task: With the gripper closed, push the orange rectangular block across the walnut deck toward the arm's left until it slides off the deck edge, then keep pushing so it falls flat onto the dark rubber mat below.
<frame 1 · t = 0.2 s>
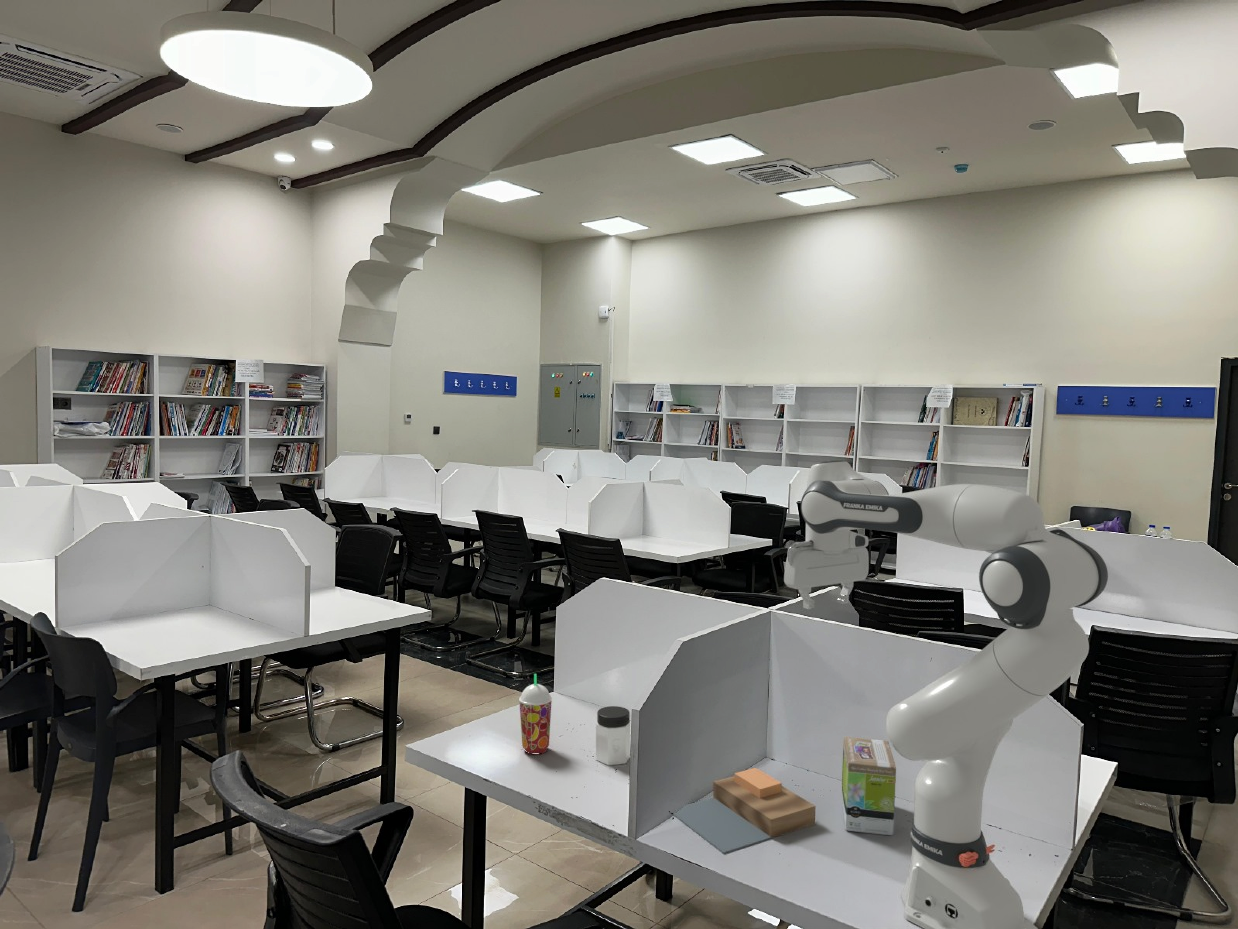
hand: (826, 605, 173), 47 cm above the table, fingers open, 8 cm apart
deck: (762, 811, 183), on the table
orange rectangular block: (757, 787, 186), point 4 cm above the table, touching deck
tea box: (866, 818, 181), on the table
jar: (613, 759, 211), on the table
mat: (718, 824, 177), on the table
smoothie: (535, 751, 215), on the table
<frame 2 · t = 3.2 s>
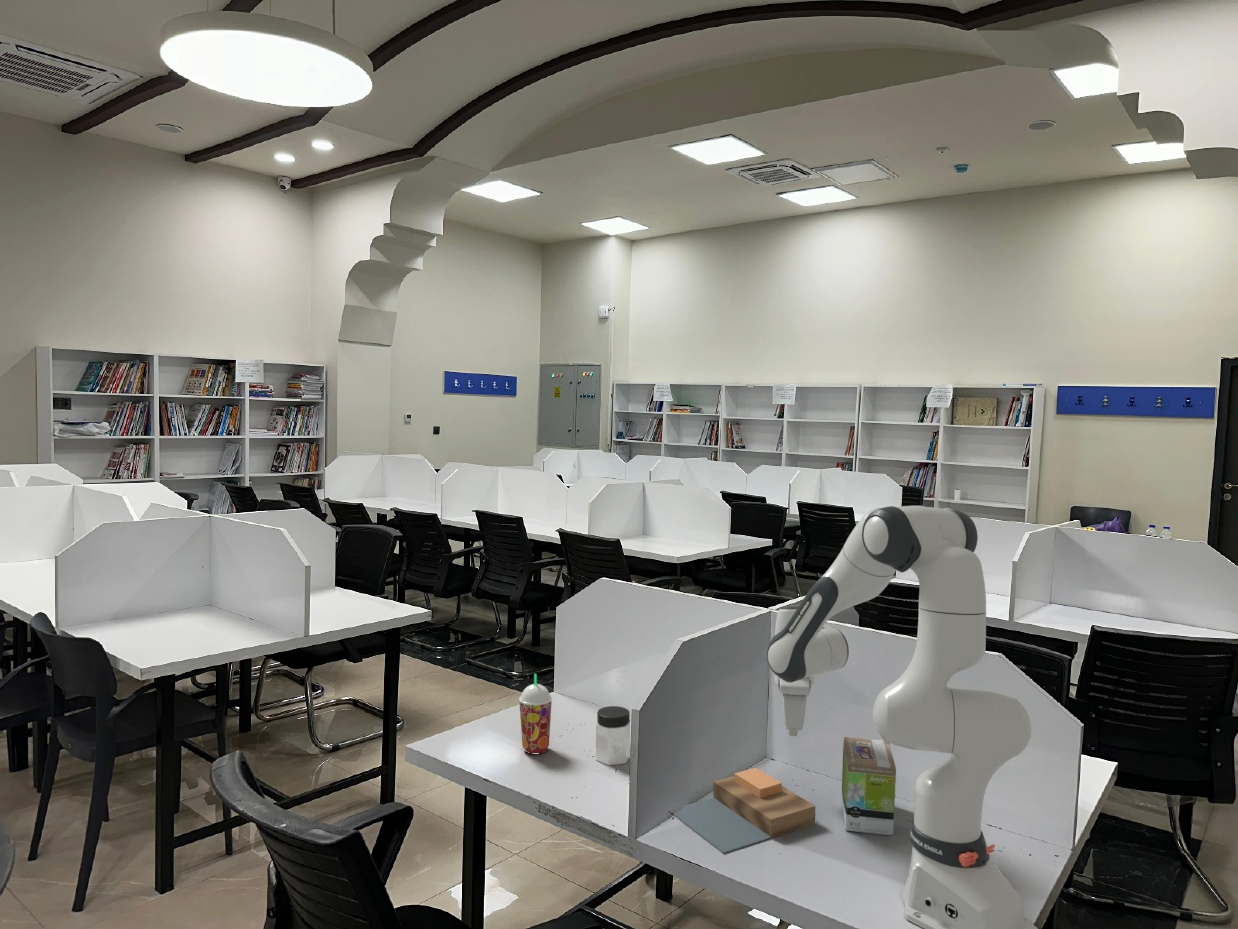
hand: (793, 733, 191), 14 cm above the table, fingers closed
nothing on the table moved.
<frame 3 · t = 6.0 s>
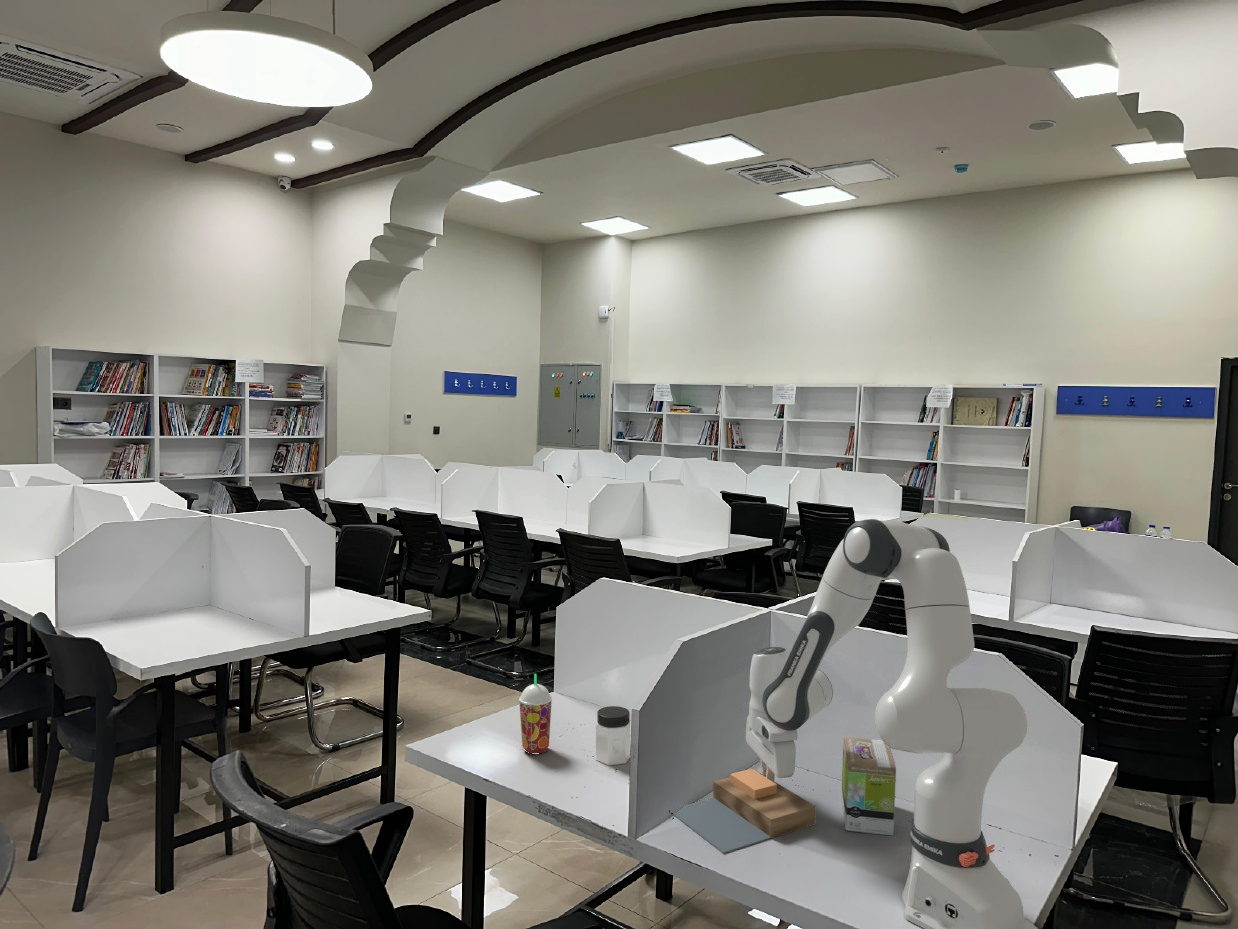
hand: (768, 779, 188), 5 cm above the table, fingers closed
orange rectangular block: (753, 788, 186), point 4 cm above the table, touching gripper
everything else where it was.
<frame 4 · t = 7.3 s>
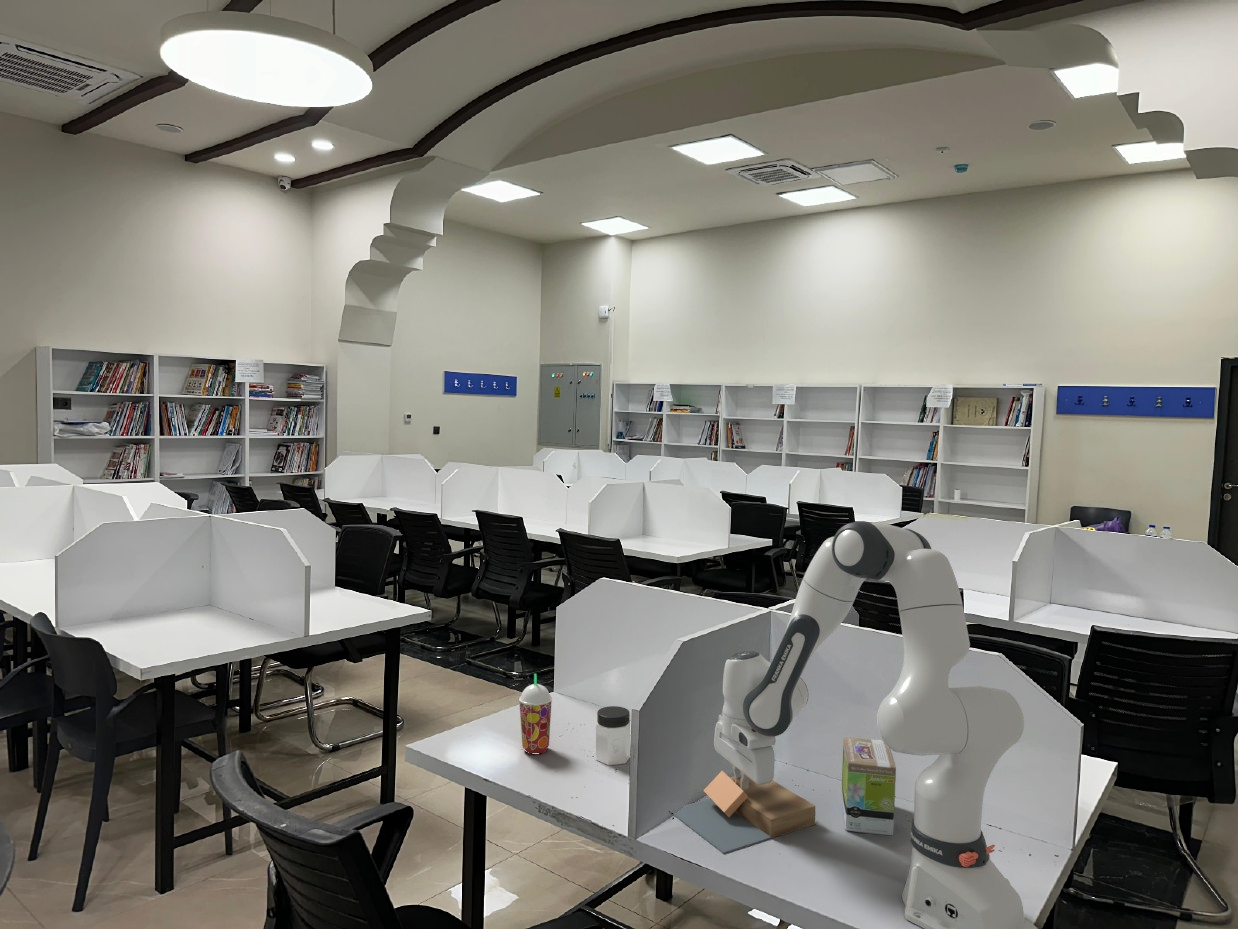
hand: (741, 787, 184), 5 cm above the table, fingers closed
orange rectangular block: (727, 796, 183), point 3 cm above the table, tilted 42°
everything else where it was.
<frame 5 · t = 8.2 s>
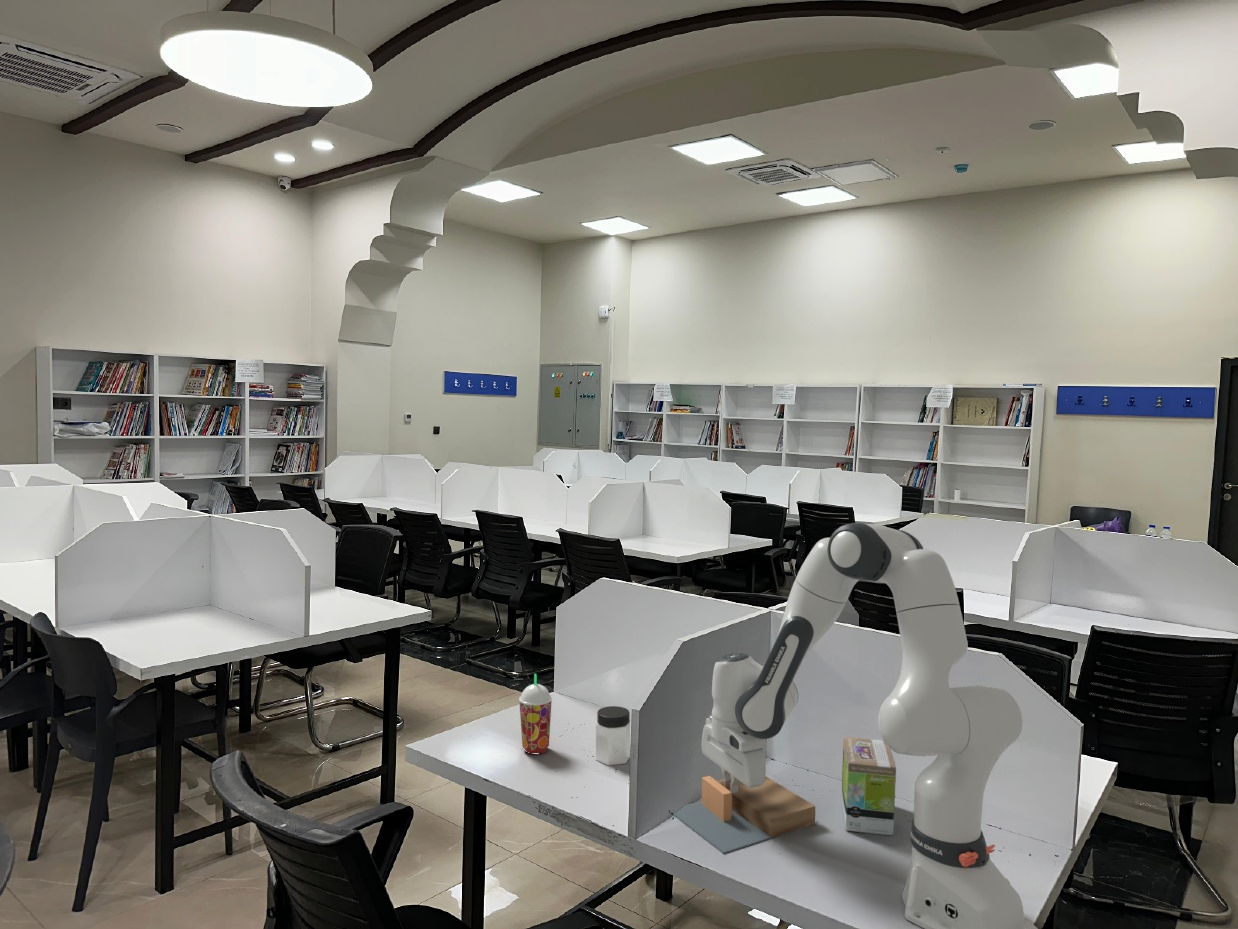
hand: (731, 790, 183), 5 cm above the table, fingers closed
orange rectangular block: (720, 797, 183), point 3 cm above the table, tilted 90°, touching mat
everything else where it was.
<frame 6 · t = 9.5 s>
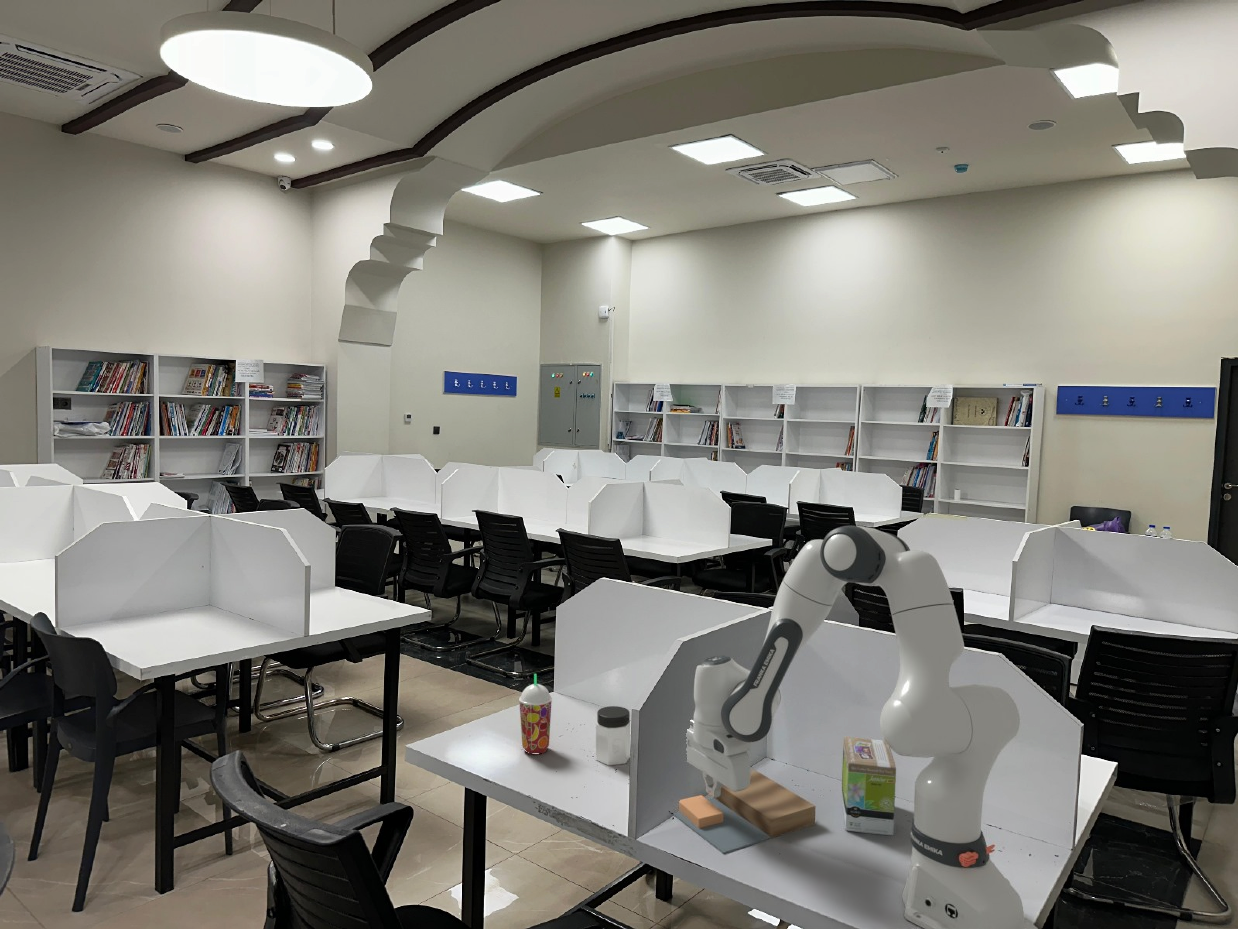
hand: (713, 794, 180), 5 cm above the table, fingers closed
orange rectangular block: (700, 806, 180), point 2 cm above the table, tilted 180°, touching mat
everything else where it was.
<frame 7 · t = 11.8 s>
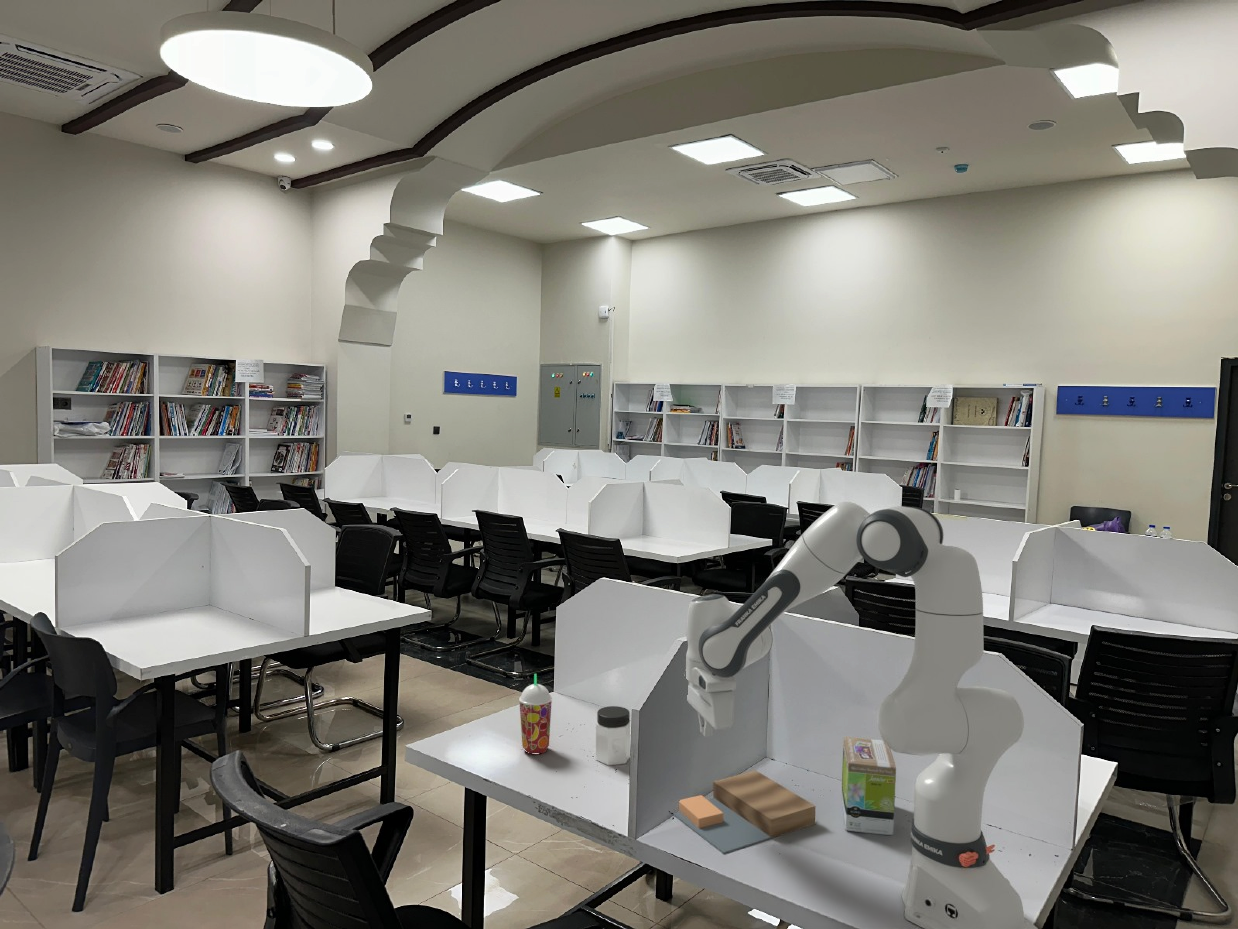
hand: (706, 734, 178), 19 cm above the table, fingers closed
nothing on the table moved.
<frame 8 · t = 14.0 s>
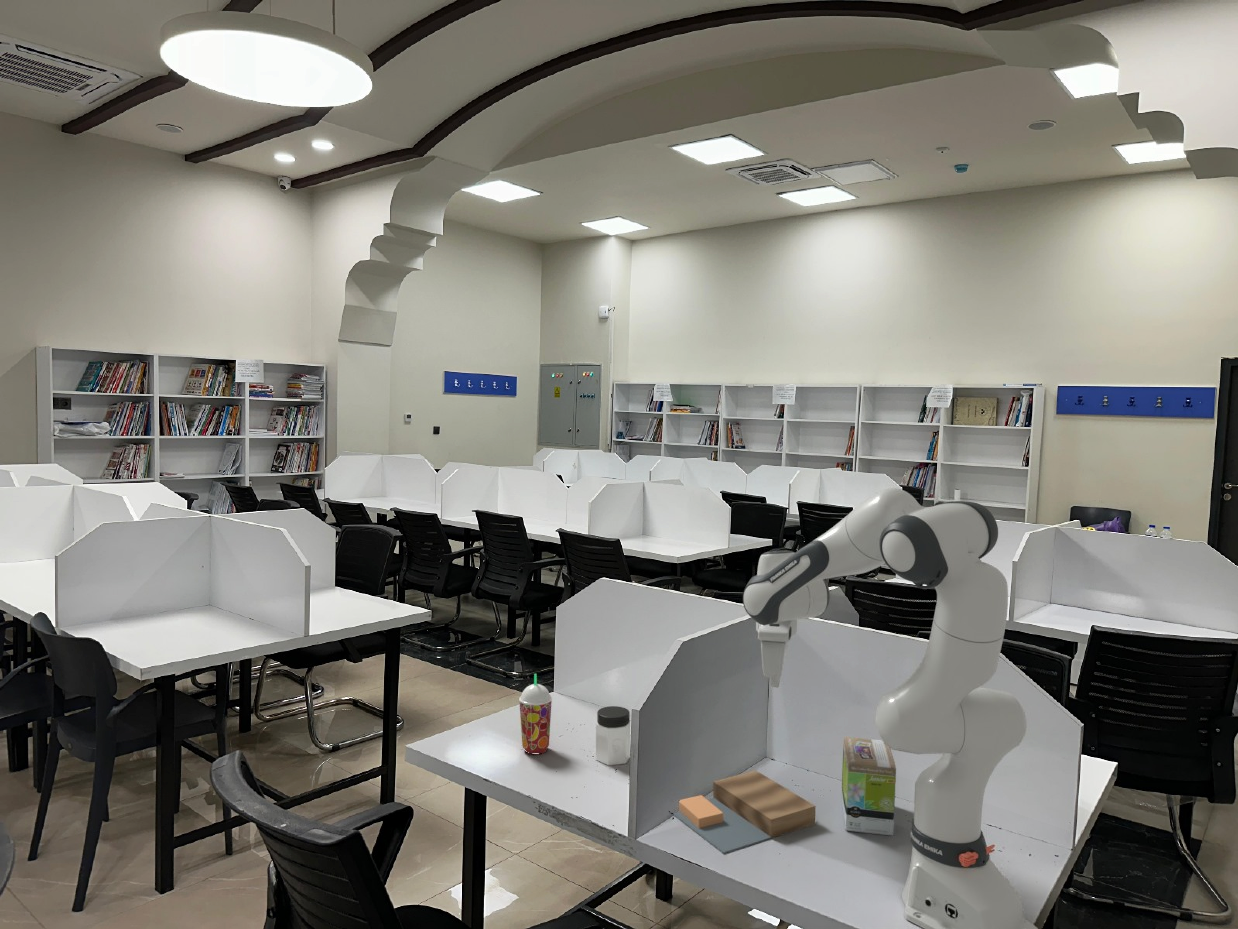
hand: (775, 685, 184), 27 cm above the table, fingers closed
nothing on the table moved.
at the end: orange rectangular block point 2.3 cm above the table; orange rectangular block inside the target area on the mat (4.6 cm from its centre), point 2.3 cm above the mat's base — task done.
